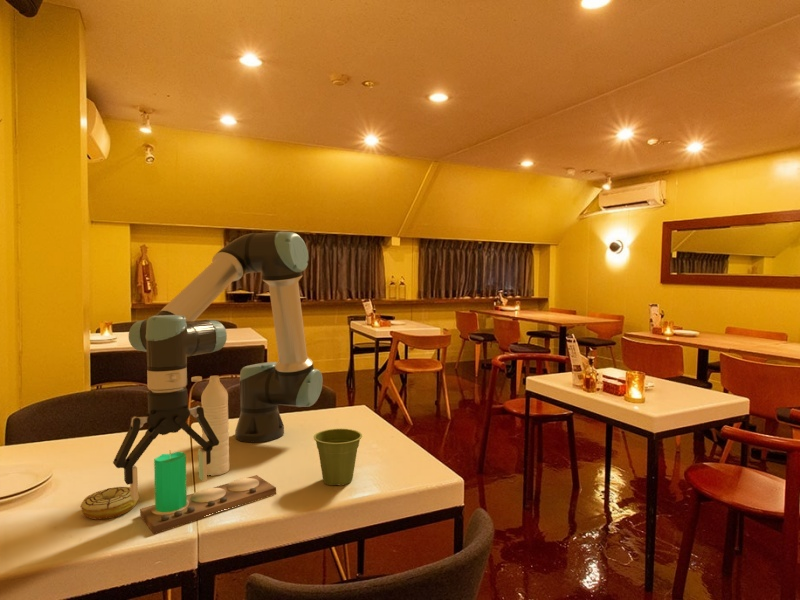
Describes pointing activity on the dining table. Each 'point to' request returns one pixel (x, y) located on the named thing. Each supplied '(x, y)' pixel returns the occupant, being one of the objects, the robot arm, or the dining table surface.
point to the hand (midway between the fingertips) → (170, 488)
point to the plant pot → (337, 454)
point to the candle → (170, 482)
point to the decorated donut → (108, 503)
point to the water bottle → (216, 423)
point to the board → (208, 503)
